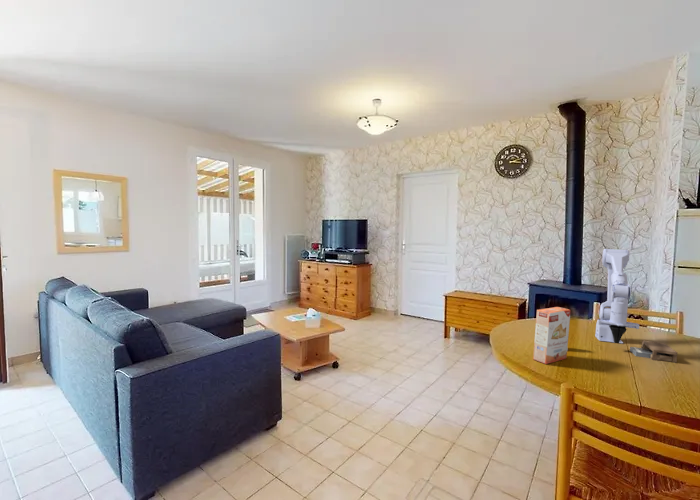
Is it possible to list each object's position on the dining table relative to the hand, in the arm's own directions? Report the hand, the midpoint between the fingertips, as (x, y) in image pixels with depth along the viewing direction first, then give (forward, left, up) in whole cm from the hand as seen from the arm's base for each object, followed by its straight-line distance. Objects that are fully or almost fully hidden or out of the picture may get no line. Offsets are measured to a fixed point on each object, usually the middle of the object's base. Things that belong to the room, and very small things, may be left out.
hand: (616, 342), depth 151 cm
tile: (+11, -1, -4) cm, 12 cm away
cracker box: (-28, -24, -4) cm, 37 cm away
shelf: (+15, 0, -4) cm, 15 cm away
